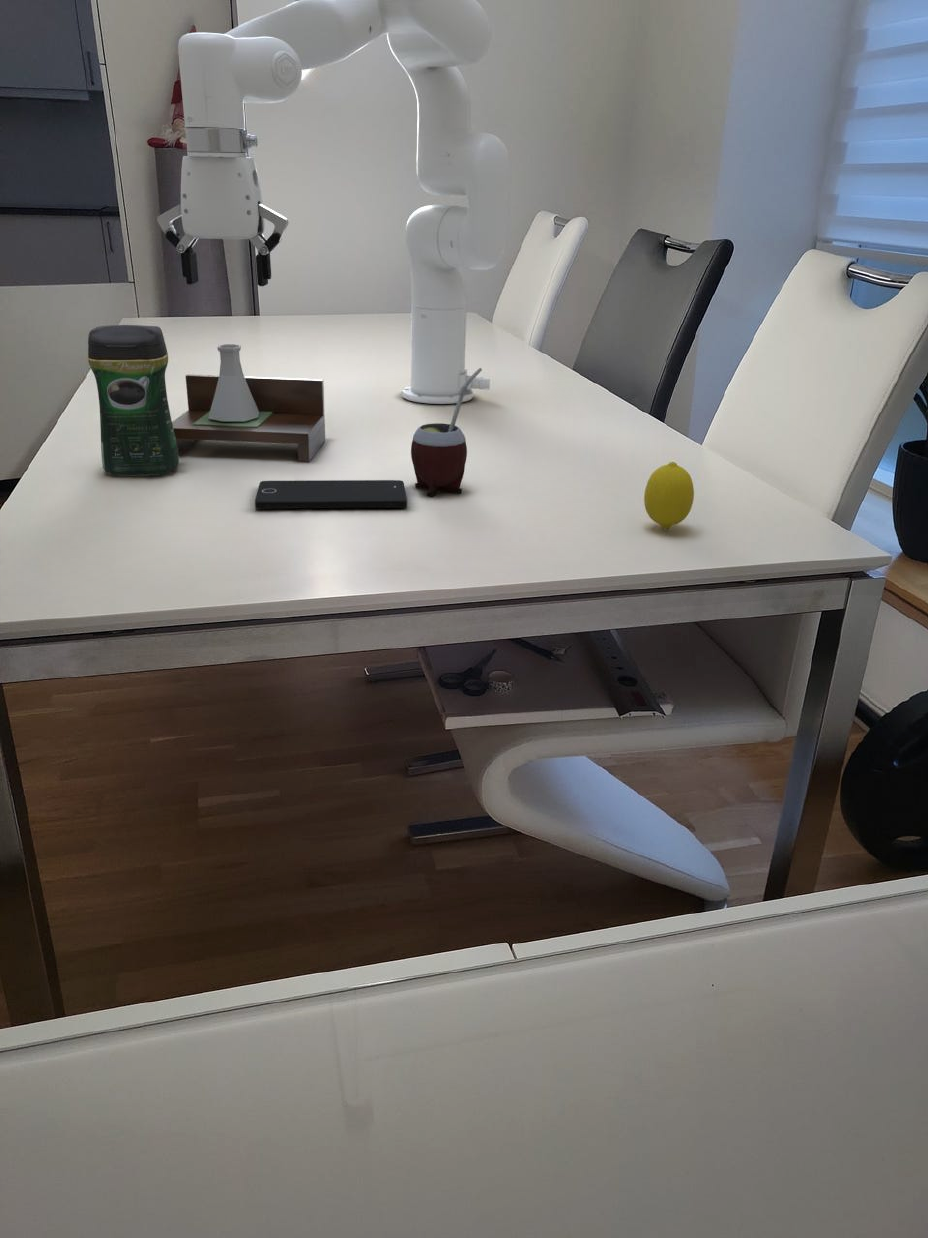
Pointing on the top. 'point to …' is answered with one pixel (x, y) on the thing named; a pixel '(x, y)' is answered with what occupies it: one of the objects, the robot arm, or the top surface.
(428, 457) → the mate gourd
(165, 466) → the coffee jar
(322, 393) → the shelf
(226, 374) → the flask
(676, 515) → the lemon
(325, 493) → the cell phone
